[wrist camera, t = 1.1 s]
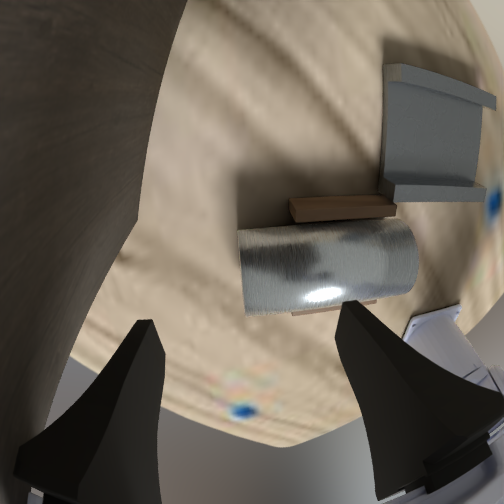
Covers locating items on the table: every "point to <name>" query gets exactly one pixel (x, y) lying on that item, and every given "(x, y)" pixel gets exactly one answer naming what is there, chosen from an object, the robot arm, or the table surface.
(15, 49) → the wood block
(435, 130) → the cradle
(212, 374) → the table surface
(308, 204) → the brown piece
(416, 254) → the grey metal cylinder
